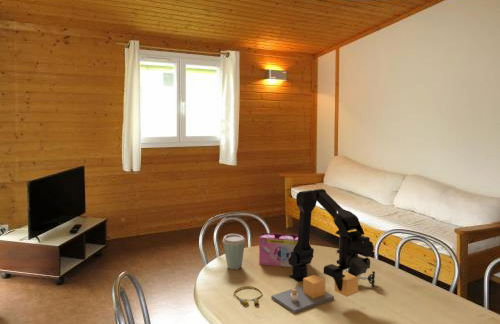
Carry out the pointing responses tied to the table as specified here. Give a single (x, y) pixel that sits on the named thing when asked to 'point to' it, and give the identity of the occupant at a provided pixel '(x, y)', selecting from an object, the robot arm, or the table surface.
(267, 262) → the gum box
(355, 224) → the robot arm
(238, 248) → the disposable coffee cup
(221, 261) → the table surface
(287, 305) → the board
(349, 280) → the matte orange cube
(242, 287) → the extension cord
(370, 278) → the valve
